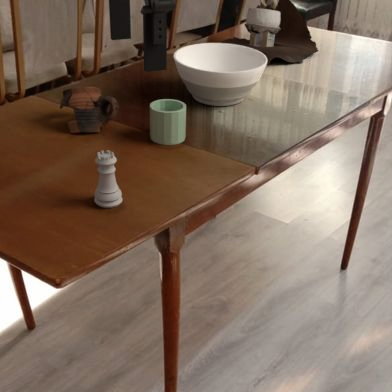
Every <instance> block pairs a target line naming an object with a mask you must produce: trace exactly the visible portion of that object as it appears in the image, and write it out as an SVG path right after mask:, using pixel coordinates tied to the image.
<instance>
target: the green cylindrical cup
mask: <svg viewBox="0 0 392 392" xmlns="http://www.w3.org/2000/svg"><path fill="white" fill-rule="evenodd" d="M186 129H187V104H186V103H185V102H183V101H181V100H179V99H172V98H163V99H157V100H154V101H152V102H150V103H149V138H150V140H151V142H152V141H153V143H156V144H159V145H163V146H173V145H179V144H181V143H183V142H185V140H186V136H187V135H186V134H187V133H186V132H187V130H186Z"/></svg>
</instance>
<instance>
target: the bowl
mask: <svg viewBox="0 0 392 392" xmlns="http://www.w3.org/2000/svg"><path fill="white" fill-rule="evenodd" d="M173 60H174V64H175V67H176V70H177V73H178V75H179V77H180V79H181V82H182V83H183V84H184V85H185V87H186V90H187V91H188V93H190V95H191V96H192V98H193V99H194V100H195V101H197V102H199V103H201V104H204V105H207V106H214V107H229V106H235V105H238V104H240V103H242V102H243V101H244V100H245V98H246V97H247V96H248V95H250V93H251V92H252V90H253V89H254V88H255V87H256V85H257V83H258V82H259V80H260V79H261V77H262V75H263V73H264V71H265V69H266V67H267V65H266V64H267V57H266V56H265V55H264V54H263V53H261V52H260V51H258V50H255V49H252V48H249V47H246V46H241V45H235V44H227V43H221V42H201V43H194V44H189V45H186V46H182V47H180V48H177V50H175V51H174V53H173Z"/></svg>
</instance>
